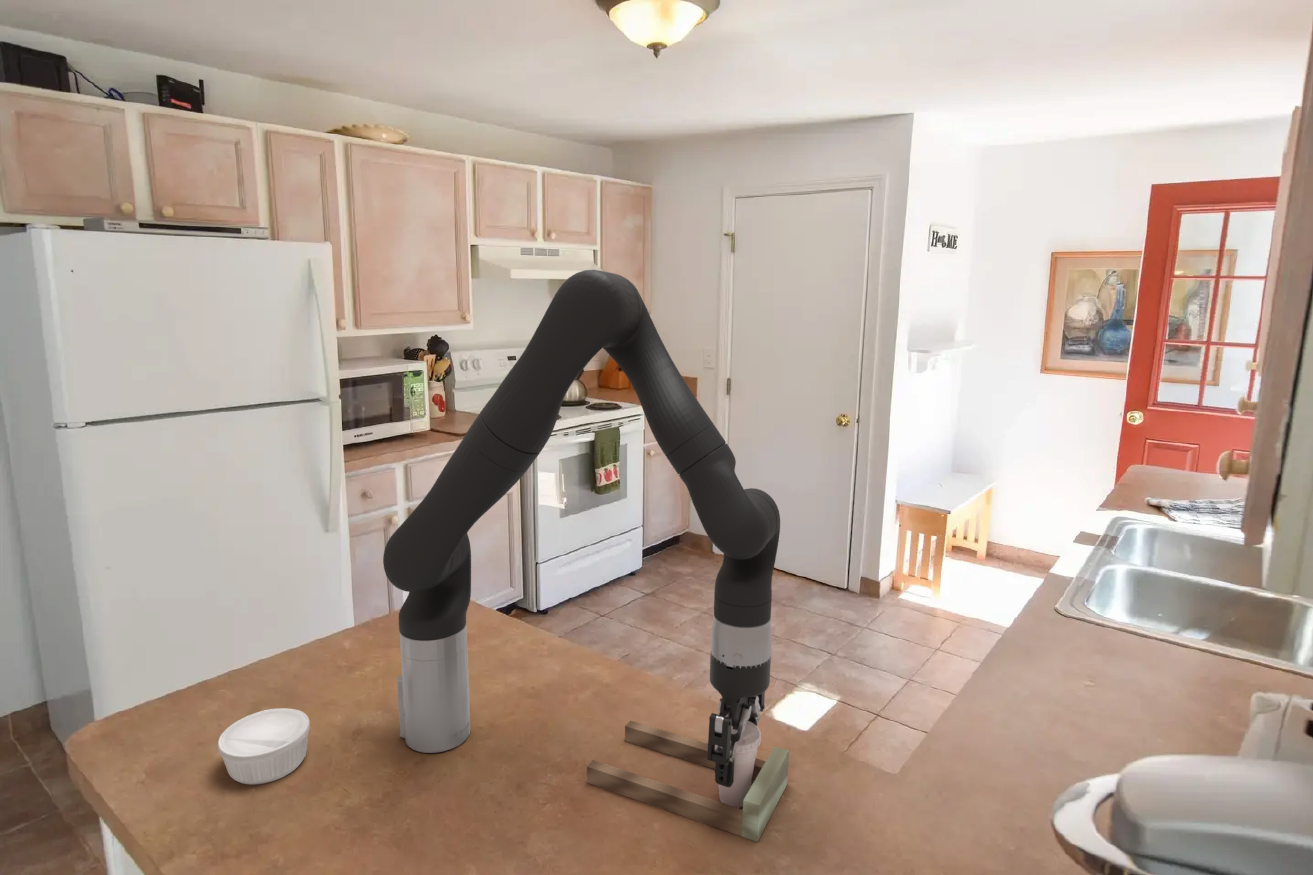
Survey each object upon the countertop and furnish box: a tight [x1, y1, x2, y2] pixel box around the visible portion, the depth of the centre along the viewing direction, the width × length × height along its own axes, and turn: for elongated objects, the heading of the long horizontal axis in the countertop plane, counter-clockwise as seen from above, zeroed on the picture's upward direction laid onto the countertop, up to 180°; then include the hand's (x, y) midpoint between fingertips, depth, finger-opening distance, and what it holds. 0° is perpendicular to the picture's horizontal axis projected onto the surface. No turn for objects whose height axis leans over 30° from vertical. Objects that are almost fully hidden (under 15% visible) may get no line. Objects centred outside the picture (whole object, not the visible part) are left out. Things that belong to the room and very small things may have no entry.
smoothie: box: [717, 721, 762, 809], centre depth 98 cm, size 6×6×14 cm
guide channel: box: [586, 720, 790, 843], centre depth 101 cm, size 24×12×5 cm, turn 64°
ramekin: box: [217, 707, 311, 786], centre depth 104 cm, size 11×11×5 cm
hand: (736, 764), depth 98 cm, fingers open, 8 cm apart
